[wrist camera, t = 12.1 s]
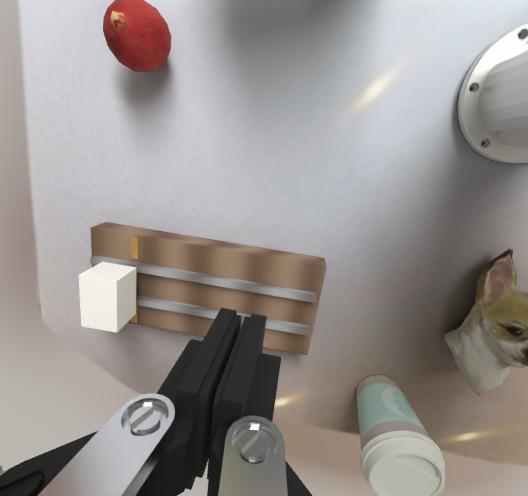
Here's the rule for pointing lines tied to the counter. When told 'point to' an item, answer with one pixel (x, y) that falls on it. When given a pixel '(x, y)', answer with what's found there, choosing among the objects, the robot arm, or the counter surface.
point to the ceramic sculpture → (492, 328)
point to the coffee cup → (395, 443)
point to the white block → (107, 296)
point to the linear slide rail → (215, 282)
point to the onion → (137, 34)
